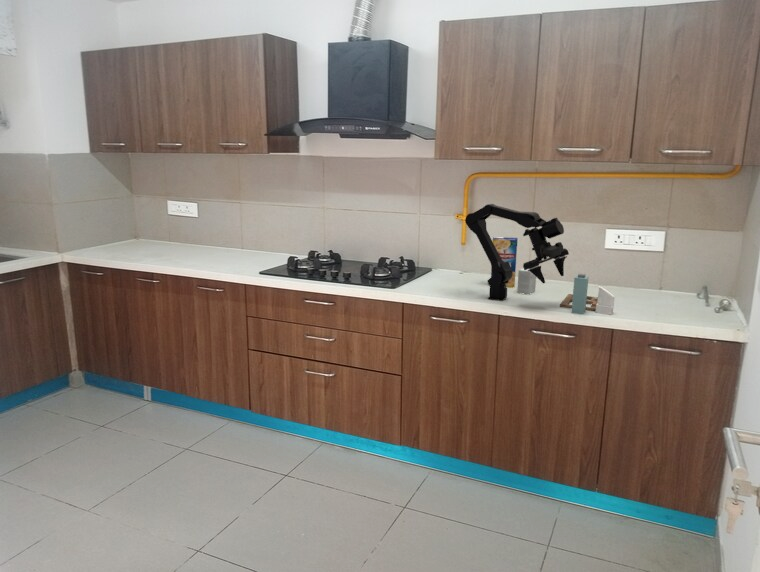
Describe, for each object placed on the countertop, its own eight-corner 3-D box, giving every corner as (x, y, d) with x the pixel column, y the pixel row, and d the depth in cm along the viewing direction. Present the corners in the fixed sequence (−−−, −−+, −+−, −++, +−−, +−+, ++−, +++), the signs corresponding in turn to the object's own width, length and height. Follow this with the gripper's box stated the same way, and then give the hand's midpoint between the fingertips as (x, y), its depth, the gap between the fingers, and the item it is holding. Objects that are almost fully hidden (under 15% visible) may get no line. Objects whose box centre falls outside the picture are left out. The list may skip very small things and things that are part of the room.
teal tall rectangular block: (571, 312, 224) (574, 275, 221) (573, 310, 228) (576, 272, 225) (583, 314, 222) (586, 276, 219) (585, 311, 226) (588, 274, 223)
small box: (523, 289, 261) (524, 266, 258) (535, 291, 258) (537, 268, 255) (516, 293, 254) (518, 269, 252) (529, 295, 251) (530, 271, 249)
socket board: (559, 307, 232) (559, 302, 232) (568, 296, 249) (568, 292, 248) (596, 311, 226) (596, 307, 226) (602, 300, 242) (603, 296, 242)
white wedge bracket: (586, 302, 229) (600, 285, 225) (608, 318, 226) (622, 301, 222) (584, 304, 226) (597, 287, 222) (606, 320, 223) (620, 303, 219)
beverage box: (491, 282, 273) (493, 236, 268) (514, 284, 271) (517, 237, 266) (490, 286, 267) (492, 239, 262) (514, 287, 264) (517, 240, 259)
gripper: (531, 244, 218) (546, 283, 217) (570, 231, 224) (584, 268, 224) (516, 251, 229) (530, 288, 228) (553, 238, 235) (567, 273, 234)
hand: (553, 279), depth 228 cm, fingers open, 9 cm apart
